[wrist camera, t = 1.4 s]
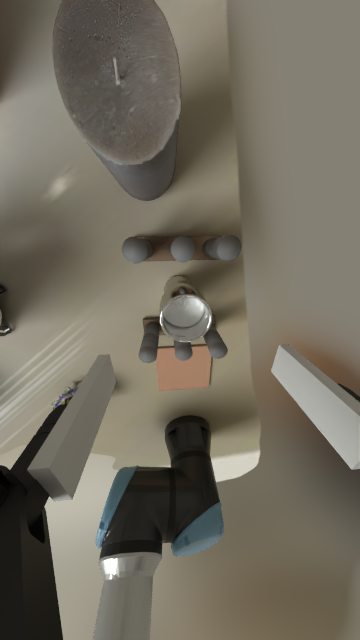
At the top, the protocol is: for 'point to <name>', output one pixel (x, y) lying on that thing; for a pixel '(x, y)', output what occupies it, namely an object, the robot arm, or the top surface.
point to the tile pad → (183, 369)
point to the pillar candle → (121, 87)
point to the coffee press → (0, 290)
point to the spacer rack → (182, 252)
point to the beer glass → (184, 311)
